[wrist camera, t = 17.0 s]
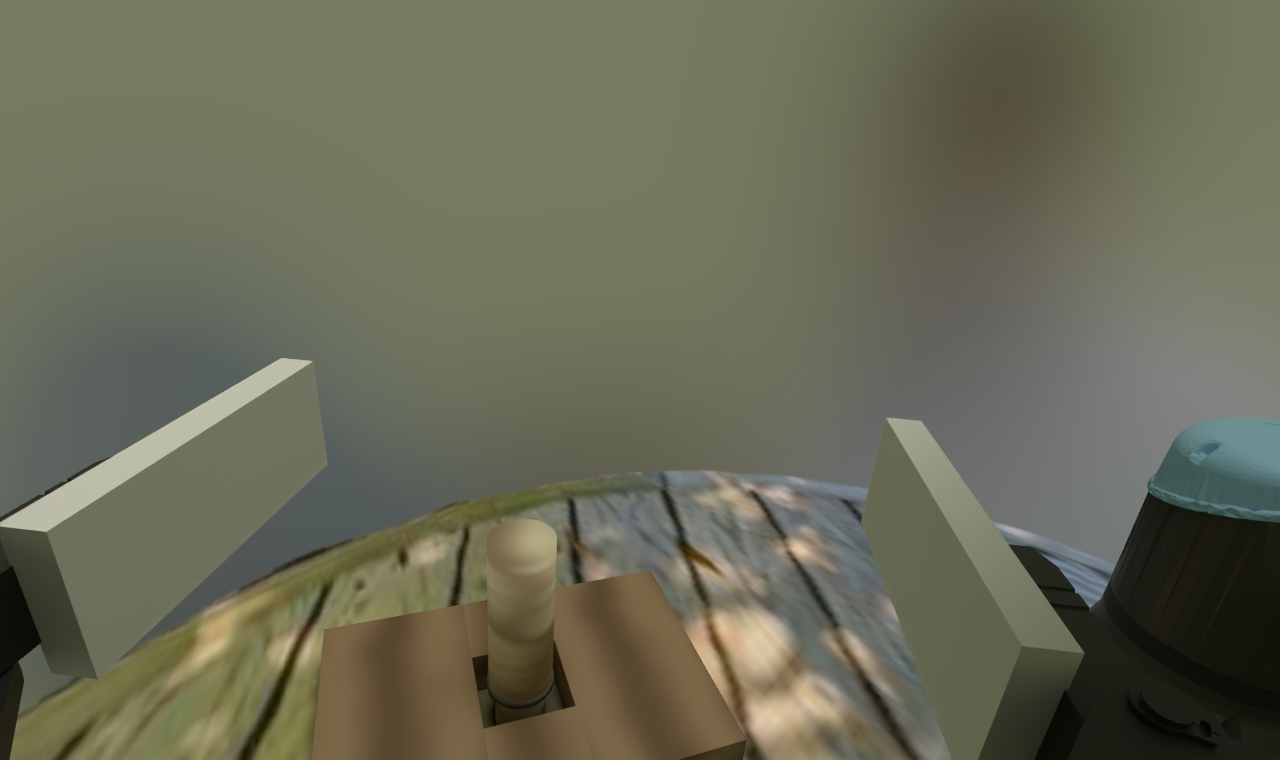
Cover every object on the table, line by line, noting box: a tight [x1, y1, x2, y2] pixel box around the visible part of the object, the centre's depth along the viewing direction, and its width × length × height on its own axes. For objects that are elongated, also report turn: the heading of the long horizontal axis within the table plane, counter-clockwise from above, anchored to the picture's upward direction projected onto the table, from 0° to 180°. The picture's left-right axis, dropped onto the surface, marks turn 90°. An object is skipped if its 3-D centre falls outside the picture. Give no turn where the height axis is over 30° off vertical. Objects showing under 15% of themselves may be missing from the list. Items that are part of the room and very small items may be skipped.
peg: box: [487, 519, 557, 725], centre depth 40 cm, size 4×4×14 cm
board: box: [311, 571, 747, 760], centre depth 42 cm, size 24×16×3 cm, turn 110°
